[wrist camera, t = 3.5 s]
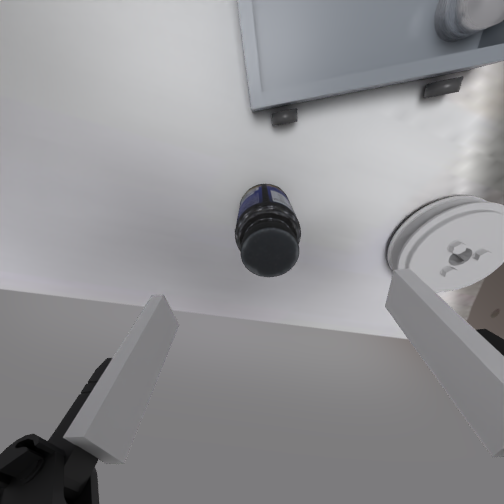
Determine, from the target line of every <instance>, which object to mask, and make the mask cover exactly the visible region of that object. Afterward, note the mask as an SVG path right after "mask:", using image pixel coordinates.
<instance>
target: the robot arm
mask: <svg viewBox="0 0 504 504" xmlns="http://www.w3.org/2000/svg"><path fill="white" fill-rule="evenodd" d="M385 307H386V308H387V310H388V311H389V313H390V314H391V316H392V317H393V318H394V320H395V321H396V323H397V324H398V325H399V327H400V328H401V330H402V331H403V332H404V334H405V335H406V337H407V338H408V339H409V341H410V342H411V344H412V345H413V346H414V348H415V349H416V351H417V352H418V353H419V355H420V356H421V358H422V359H423V360H424V362H425V363H426V365H427V366H428V367H429V369H430V370H431V372H432V373H433V374H434V376H435V377H436V379H437V380H438V381H439V383H440V384H441V386H442V387H443V389H444V390H445V391H446V393H447V394H448V396H449V397H450V398H451V400H452V401H453V403H454V404H455V405H456V407H457V408H458V409H459V411H460V412H461V414H462V415H463V416H464V418H465V419H466V421H467V422H468V424H469V425H470V426H471V428H472V429H473V431H474V432H475V433H476V435H477V436H478V437H479V439H480V440H481V442H482V443H483V445H484V446H485V447H486V449H487V450H488V452H489V453H490V454H491V456H492V457H504V339H502V338H500V337H499V336H497V335H495V334H493V333H492V332H490V331H488V330H486V329H480V330H475V329H474V328H473V327H471V325H470V324H468V323H467V322H466V321H465V320H464V319H463V318H462V317H461V316H460V315H459V314H458V313H457V312H456V311H454V310H453V309H452V308H451V307H450V306H449V305H448V304H447V303H446V302H445V301H444V300H443V299H442V298H440V297H439V296H438V295H437V294H436V293H435V292H434V291H433V290H432V289H431V288H430V287H429V286H428V285H427V284H425V283H424V282H423V281H422V280H421V279H420V278H419V277H418V276H417V275H416V274H415V273H414V272H413V271H411V270H410V269H409V268H408V269H398V270H394V272H393V276H392V280H391V284H390V288H389V292H388V296H387V300H386V304H385ZM178 327H179V324H178V322H177V320H176V318H175V316H174V314H173V312H172V310H171V308H170V306H169V304H168V302H167V300H166V298H165V296H164V295H155V296H151V298H150V300H149V301H148V303H147V304H146V306H145V307H144V309H143V311H142V312H141V314H140V316H139V317H138V319H137V320H136V322H135V323H134V325H133V327H132V328H131V330H130V332H129V333H128V335H127V336H126V338H125V339H124V341H123V343H122V344H121V346H120V347H119V349H118V350H117V352H116V354H115V355H114V357H113V358H107V359H106V360H105V361H104V362H103V363H102V364H101V365H100V366H99V367H98V368H97V369H96V370H95V372H94V373H93V375H92V376H91V378H90V379H89V381H88V384H86V385H85V387H84V388H83V390H82V392H81V394H80V395H79V396H78V397H77V399H76V400H75V402H74V403H73V405H72V406H71V408H70V409H69V411H68V412H67V414H66V415H65V417H64V418H63V420H62V421H61V423H60V425H59V426H58V427H57V429H56V430H55V432H54V433H53V435H52V436H51V437H50V439H49V440H48V441H46V440H44V439H42V438H41V437H39V436H37V435H35V434H30V435H26V436H24V437H22V438H20V439H18V440H16V441H15V442H14V443H13V444H11V445H10V446H9V447H7V448H6V449H5V450H4V451H3V452H2V453H1V454H0V504H99V494H98V479H97V472H96V469H95V468H94V467H95V465H96V463H97V461H98V459H99V460H101V461H102V462H104V463H106V464H124V462H125V460H126V457H127V455H128V453H129V450H130V447H131V445H132V442H133V440H134V437H135V435H136V432H137V430H138V427H139V425H140V422H141V420H142V417H143V415H144V412H145V410H146V407H147V405H148V402H149V399H150V397H151V395H152V392H153V390H154V387H155V384H156V382H157V379H158V377H159V374H160V372H161V369H162V367H163V364H164V362H165V359H166V357H167V354H168V352H169V349H170V346H171V344H172V342H173V339H174V337H175V334H176V332H177V329H178Z"/></svg>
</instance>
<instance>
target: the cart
mask: <svg viewBox="0 0 504 504" xmlns="http://www.w3.org/2000/svg"><path fill="white" fill-rule="evenodd" d="M438 2H439V0H237V4H238V12H239V19H240V27H241V35H242V42H243V50H244V57H245V65H246V73H247V80H248V88H249V95H250V103H251V110H252V112H254V111H259V110H264V109H269V108H274V107H279V106H285V105H290V104H295V103H300V102H305V101H310V100H316V99H321V98H326V97H331V96H336V95H341V94H347V93H352V92H357V91H362V90H367V89H372V88H378V87H383V86H388V85H393V84H398V83H403V82H409V81H414V80H419V79H424V78H429V77H434V76H440V75H445V74H450V73H455V72H460V71H465V70H471V69H475V68H478V67H482V66H486V65H490V64H494V63H497V62H501V61H504V20H503V21H502V22H500V23H498V24H496V25H493V26H491V27H489V28H486V29H484V30H482V31H479V32H477V33H475V34H472V35H470V36H467V37H465V38H463V39H460V40H458V41H455V42H446V41H443V40H442V39H440V38H439V36H438V35H437V33H436V30H435V25H434V18H435V11H436V8H437V5H438ZM462 79H463V77H458V78H453V79H448V80H443V81H439V82H434V83H430V84H427V85H426V90H425V94H424V98H426V97H432V96H438V95H443V94H449V93H454V92H459V90H460V86H461V83H462ZM292 122H297V109H291V110H285V111H280V112H276V113H272V126H275V125H281V124H286V123H292Z"/></svg>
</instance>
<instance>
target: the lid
mask: <svg viewBox="0 0 504 504" xmlns="http://www.w3.org/2000/svg"><path fill="white" fill-rule="evenodd" d="M387 259H388V263H389V266H390V268H391V269H392V271H393V272H394V270H398V269H408V268H409V269H410V270H411V271H413V272H414V273H415V274H416V275H417V276H418V277H419V278H420V279H421V280H422V281H423V282H424V283H425V284H427V285H428V286H429V287H430V288H431V289H432V290H433V291H434V292H435V293H437V292H446V291H453V290H457V289H460V288H463V287H466V286H469V285H471V284H474V283H476V282H478V281H480V280H481V279H483V278H485V277H486V276H488V275H489V274H491V273H492V272H493V271H495V270H496V269H497V268H498V267H499V266H500V265H501V264H502V263H503V262H504V205H501V204H498V203H494V202H488V201H486V200H484V199H482V198H479V197H475V196H468V195H461V196H453V197H448V198H444V199H441V200H438V201H436V202H433V203H431V204H429V205H427V206H425V207H423V208H422V209H420V210H419V211H417V212H416V213H414V214H413V215H412V216H411V217H409V218H408V219H407V220H406V221H405V222H404V223H403V224H402V225H401V226H400V228H399V229H398V230H397V231H396V233H395V234H394V236H393V238H392V240H391V242H390V245H389V248H388V252H387Z"/></svg>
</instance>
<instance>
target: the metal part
mask: <svg viewBox="0 0 504 504" xmlns="http://www.w3.org/2000/svg"><path fill="white" fill-rule="evenodd" d="M503 20H504V0H439V2H438V5H437V8H436V11H435V18H434V25H435V30H436V33H437V35H438V36H439V38H440V39H442V40H443V41H446V42H455V41H458V40H460V39H463V38H465V37H467V36H470V35H472V34H475V33H477V32H479V31H482V30H484V29H486V28H489V27H491V26H493V25H496V24H498V23H500V22H502V21H503Z"/></svg>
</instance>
